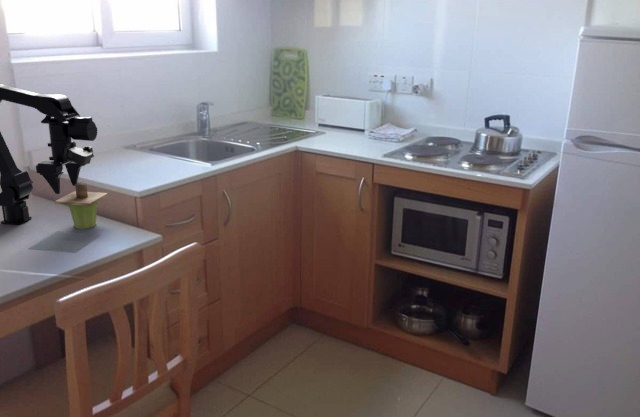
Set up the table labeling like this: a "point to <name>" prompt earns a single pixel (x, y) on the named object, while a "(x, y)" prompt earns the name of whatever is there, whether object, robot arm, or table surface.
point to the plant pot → (84, 215)
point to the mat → (65, 242)
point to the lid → (81, 196)
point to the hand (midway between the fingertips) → (66, 189)
